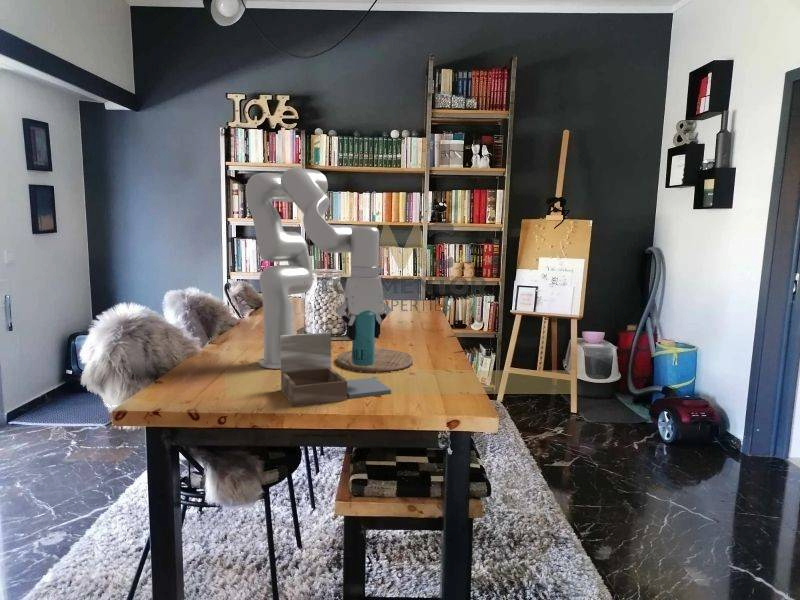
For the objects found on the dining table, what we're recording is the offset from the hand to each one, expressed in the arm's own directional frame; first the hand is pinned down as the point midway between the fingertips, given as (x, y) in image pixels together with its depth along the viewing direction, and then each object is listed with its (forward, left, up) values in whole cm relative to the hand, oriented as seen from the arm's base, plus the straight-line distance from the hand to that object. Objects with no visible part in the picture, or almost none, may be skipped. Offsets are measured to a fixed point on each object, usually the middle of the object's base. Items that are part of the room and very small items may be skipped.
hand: (363, 337), depth 143 cm
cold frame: (0, -14, -15) cm, 20 cm away
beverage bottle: (0, 0, -9) cm, 9 cm away
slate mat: (0, 0, -15) cm, 15 cm away
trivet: (-25, +14, -15) cm, 33 cm away
